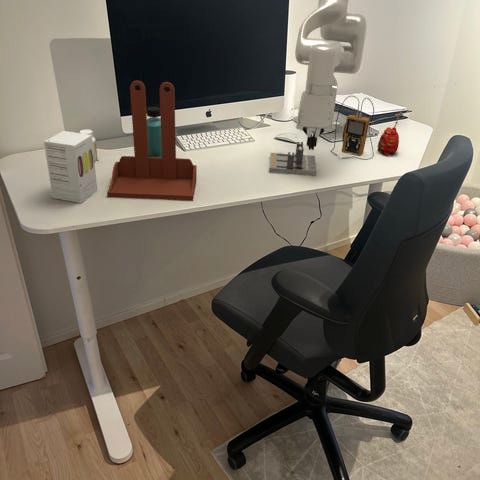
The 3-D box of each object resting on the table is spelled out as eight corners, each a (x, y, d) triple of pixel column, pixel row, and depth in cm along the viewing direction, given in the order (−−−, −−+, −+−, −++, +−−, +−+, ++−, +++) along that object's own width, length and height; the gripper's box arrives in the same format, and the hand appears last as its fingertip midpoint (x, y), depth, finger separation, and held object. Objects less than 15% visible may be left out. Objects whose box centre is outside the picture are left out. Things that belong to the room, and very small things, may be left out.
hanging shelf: (107, 197, 146) (96, 91, 130) (117, 178, 157) (108, 78, 142) (192, 201, 147) (192, 96, 131) (196, 181, 158) (196, 82, 142)
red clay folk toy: (372, 149, 187) (380, 109, 179) (389, 148, 189) (398, 107, 181) (384, 157, 180) (392, 116, 173) (401, 156, 182) (410, 114, 175)
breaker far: (295, 153, 175) (297, 140, 172) (301, 154, 175) (303, 141, 172) (295, 156, 173) (297, 143, 170) (301, 157, 173) (303, 144, 170)
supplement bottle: (89, 155, 171) (85, 127, 166) (101, 159, 168) (98, 131, 163) (76, 160, 167) (73, 132, 162) (89, 164, 164) (85, 135, 159)
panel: (270, 156, 176) (270, 152, 176) (314, 160, 176) (314, 155, 175) (269, 172, 165) (269, 167, 165) (316, 175, 165) (316, 171, 164)
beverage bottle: (171, 169, 164) (169, 107, 154) (158, 176, 159) (155, 113, 149) (155, 164, 167) (152, 103, 156) (141, 171, 162) (137, 108, 151)
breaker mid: (295, 159, 171) (297, 146, 168) (301, 160, 171) (303, 146, 168) (296, 162, 169) (297, 149, 166) (302, 162, 168) (303, 149, 166)
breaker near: (286, 164, 166) (288, 151, 164) (293, 165, 166) (294, 152, 164) (286, 167, 164) (288, 154, 162) (293, 168, 164) (294, 154, 162)
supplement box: (81, 204, 142) (73, 146, 133) (51, 198, 144) (42, 141, 135) (98, 189, 150) (92, 134, 141) (70, 184, 152) (62, 129, 143)
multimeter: (324, 156, 179) (332, 99, 168) (334, 147, 187) (342, 92, 176) (365, 166, 173) (376, 107, 163) (373, 156, 181) (384, 100, 171)
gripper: (342, 87, 155) (334, 146, 164) (292, 84, 155) (287, 142, 165) (345, 94, 148) (336, 154, 158) (293, 90, 149) (287, 150, 158)
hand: (311, 148), depth 161 cm, fingers closed
